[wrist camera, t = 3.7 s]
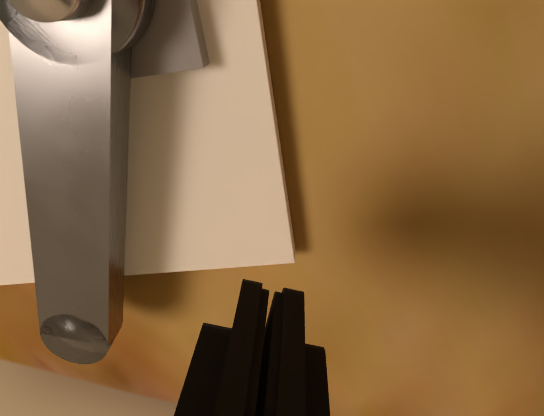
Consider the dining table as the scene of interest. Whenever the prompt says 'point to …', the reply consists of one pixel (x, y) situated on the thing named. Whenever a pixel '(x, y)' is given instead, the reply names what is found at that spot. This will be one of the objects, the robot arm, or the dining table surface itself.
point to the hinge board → (180, 148)
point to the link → (76, 160)
